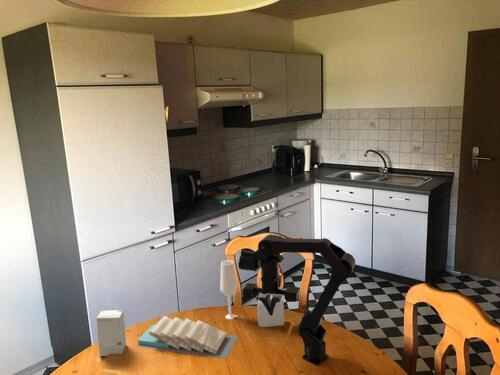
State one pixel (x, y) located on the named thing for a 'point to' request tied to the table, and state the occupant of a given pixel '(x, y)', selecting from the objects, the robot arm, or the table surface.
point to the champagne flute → (228, 283)
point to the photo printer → (265, 318)
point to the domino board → (221, 352)
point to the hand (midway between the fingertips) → (271, 315)
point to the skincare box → (111, 332)
